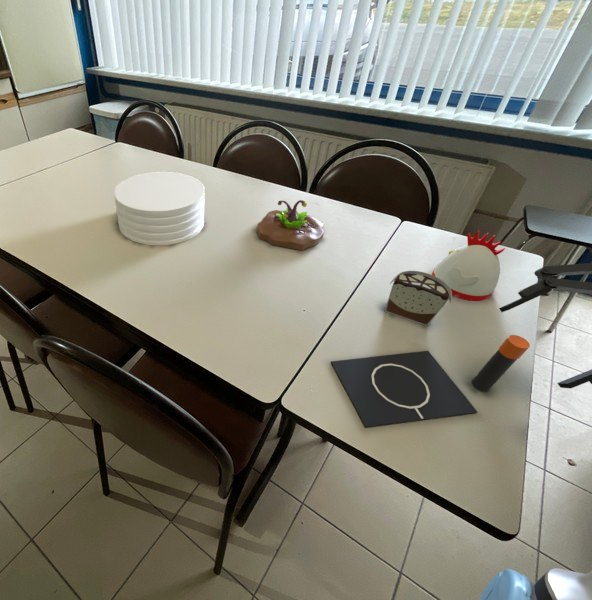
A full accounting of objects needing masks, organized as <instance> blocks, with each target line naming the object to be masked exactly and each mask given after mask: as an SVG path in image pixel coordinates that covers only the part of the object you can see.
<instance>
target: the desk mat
mask: <svg viewBox="0 0 592 600" xmlns="http://www.w3.org/2000/svg"><path fill="white" fill-rule="evenodd" d="M330 365H331V366H332V368H333V370H334V373H335V374H336V375H337V377H338V379H339V381H340V383H341V385H342V388H343V389H344V391H345V392H346V395H347V396H348V398H349V400H350V402H351V403H352V406H353V408H354V410H355V412H356V413H357V415H358V417H359V419H360V421H361V424H362V425H363V426H364V428H365V429H366V428H374V427H381V426H389V425H396V424H404V423H412V422H419V421H427V420H428V421H429V420H434V419H443V418H451V417H458V416H466V415H473V414H477V413H478V410H477V409H476V408H475V406H474V405H473V404H472V403H471V402H470V400H469V399H468V398H467V396H466V395H465V393H464V392H463V391H462V390H461V389H460V388H459V387H458V385H457V384H456V382H454V381H453V379H452V378H451V377H450V376H449V374H448V373H447V372H446V371H445V369H444V368H443V367H442V365H441V364H440V363H439V362H438V361H437V359H436V358H435V357H434V356H433V354H431V352H430V351H429V350H422V351H421V350H420V351H412V352H404V353H395V354H385V355H377V356H368V357H359V358H358V357H357V358H349V359H342V360H339V359H338V360H333V361H332V360H331V361H330Z"/></svg>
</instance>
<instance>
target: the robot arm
mask: <svg viewBox="0 0 592 600" xmlns="http://www.w3.org/2000/svg"><path fill="white" fill-rule="evenodd" d="M533 273H534V276H535V277H536V278H537V281H536V282H535V283H534V284H531V285H529V286H527V287H524V288H522V289H520V290H519V291H518V292H517V295H519V297H520V298H518V299H516V300H514V301H512V302H510V303H508V304H504V305H503V306H501V307H499V308H498V309H499V311H500V312H501V313H505V312H508V311H510V310H512V309H514V308H516V307H519V306H521V305H522V304H523V305H524V304H526V303H528V302H530V301H531V300H534V299H536V298H539V297H540V296H543V295H545V294H547V293H549V292H552V291H553V290H554V291H560V292H561V291H563V292H569V293H578V294H585V295H592V282H589V281H583V280H574V279H566V278H559V277H560V276H561V277H562V276H577V275H578V276H579V275H592V262H587V263H571V264H570V263H569V264H556V265H544V266H542V267H540V268H538V269H536V270H535V271H534V272H533ZM588 382H589V383H590V384H591V385H592V369H589V370H587V371H586V370H585V371H584V372H581V373H579V374H576V375H574V376H571V377H568V378H567V379H563V380H561V381H559V382H557V383H556V384H557V385H558V386H559V388H560V389H574V388H577V387H579V386H581V385H583V384H586V383H588ZM478 600H592V569H591V570H590V571H589V572H588V573H581V572H578V571H572V570H569V569H564V568H558V567H554V568H553V567H552V568H550V569H549V570H547V572H545V573H544V574H543V575H542V576H541V577H540V578H539V579H538V580H536V581H535V582H532V581H530V578H528V577H527V576H526V575H525V574H524V573H520V572H518V571H516V570H514V569H512V568H507V569H504V570H503V571H499V572H498V573H497V574H496V575H494V577H493V578H492V579H491V580H490V581H489V583H488V584H487V586H486V587H485V588H484V590H483V592H482V593H481V594H480V597H479V598H478Z"/></svg>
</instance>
